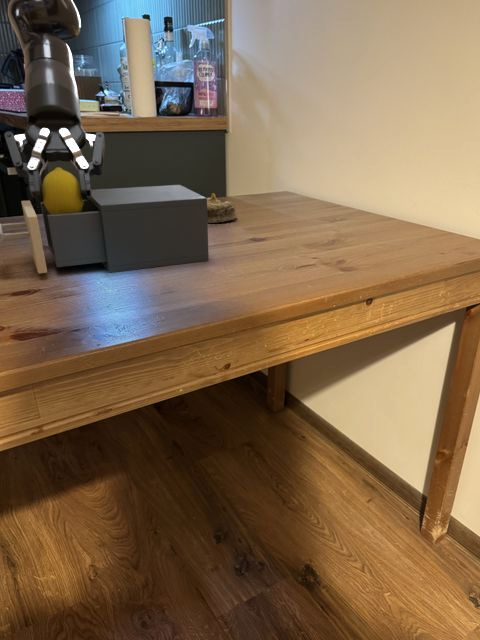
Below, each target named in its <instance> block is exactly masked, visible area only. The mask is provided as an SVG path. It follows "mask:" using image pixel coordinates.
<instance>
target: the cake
mask: <svg viewBox="0 0 480 640" xmlns="http://www.w3.org/2000/svg"><path fill="white" fill-rule="evenodd" d="M206 198H207V221H208V224H215V223H223V222H228V221H232V220H233V221H234V219H237V218H238V214H237V212H236V206H235V203H233V202H232V201H228V200H226V201H224V202H221V200H219V199H217V197H216V194H215V193H213V192H212V193H211V196H210V197H206Z"/></svg>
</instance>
